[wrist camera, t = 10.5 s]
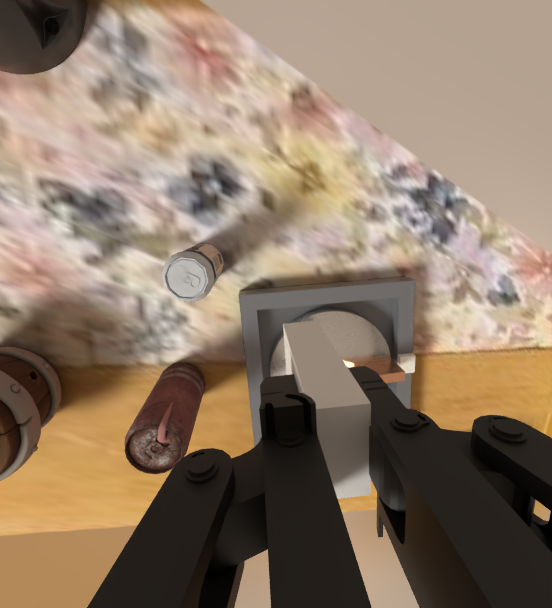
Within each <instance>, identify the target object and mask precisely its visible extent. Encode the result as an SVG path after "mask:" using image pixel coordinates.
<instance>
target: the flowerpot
mask: <svg viewBox="0 0 552 608" xmlns="http://www.w3.org/2000/svg"><path fill="white" fill-rule="evenodd" d="M60 401H61V385H60V381H59V379H58V374H57V372H56V370H55V369H54V367H53V366H52V365H51V364H50V363H49V362H48V361H47V360H46V359H44V358H43V357H41V356H40V355H38V354H34V353H32V352H29V351H27V350H24V349H20V348H15V347H2V346H0V481H2V480H3V479H5V478H7V477H8V476H10V475H11V474H13V473H14V472H15V471H17V470H18V469H19V468H20V467H21V466H22V465H23V464H24V463H25V462H26V461H27V460H28V459H29V458H30V456H31V455H32V454H33V452H35V451H36V450H37V449H38V447H37V444H38V441H39V438H40V434H41V428H42V427H44V426H45V425H46V424H47V423H48V422H49V421H50V420H51V419H52V418H53V416H54V415H55V413H56V411H58V410H59V409H60V405H59V404H60Z"/></svg>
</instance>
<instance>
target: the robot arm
mask: <svg viewBox="0 0 552 608" xmlns="http://www.w3.org/2000/svg"><path fill="white" fill-rule="evenodd" d="M85 17H86V0H0V70H1V71H5V72H9V73H14V74H35V73H40V72H43V71H46V70H49V69H51V68H53V67H55V66H56V65H58V64H59V63H61V62H62V61H63V60H64V59H65V58H66V57H67V56H68V55H69V54H70V53H71V52H72V50H73V49H74V47H75V46H76V44H77V42H78V41H79V38H80V36H81V33H82V30H83V27H84V23H85ZM283 331H284V345H285V359H286V374H287V375H281V376H271V377H265V379H264V380H263V381H262V383H261V384H260V395H261V404H260V408H259V414H260V424H261V434H262V437H261V439H260V441H259V443H258V444H257V445H256V446H255V447H254V448H253V449H251V450H250V451H248V452H247V453H244V454H242V455H240V456H237V457H235V458H232V459H231V457H230V455H228V454H227V453H225V452H224V451H223V450H218V449H214V448H211V449H201V450H198V451H195V452H192V453H190V454H188V455H187V456H185V457H184V458H182V459H181V460H180V461H179V462H178V463H177V464H176V465H175V467H174V468H173V469H172V471H171V472H170V474H169V476H168V477H167V479H166V481H165V482H164V484H163V485H162V487H161V489H160V490H159V492H158V494H157V495H156V497H155V498H154V500H153V502H152V503H151V505H150V506H149V508H148V510H147V511H146V513H145V515H144V516H143V518H142V519H141V521H140V523H139V524H138V526H137V528H136V529H135V531H134V532H133V534H132V536H131V537H130V539H129V541H128V543H127V544H126V545H125V547H124V549H123V550H122V552H121V554H120V555H119V557H118V559H117V560H116V562H115V563H114V565H113V567H112V568H111V570H110V571H109V573H108V575H107V577H106V578H105V580H104V581H103V583H102V584H101V586H100V588H99V589H98V591H97V592H96V594H95V596H94V597H93V599H92V601H91V602H90V604H89V605H88V607H87V608H234V606H235V602H236V597H237V594H238V590H239V585H240V581H241V577H242V573H243V569H244V561H245V560H247V559H249V558H251V557H253V556H255V555H257V554H259V553H261V552H263V551H265V550H267V549H268V557H269V576H270V594H271V608H371V604H370V601H369V598H368V595H367V592H366V588H365V585H364V582H363V579H362V576H361V573H360V570H359V566H358V563H357V560H356V556H355V553H354V550H353V547H352V544H351V541H350V538H349V534H348V531H347V528H346V525H345V522H344V518H343V515H342V512H341V509H340V505H339V502H338V499H341V498H349V497H357V496H365V495H370V481H371V479H372V482H373V484H374V486H375V488H376V490H377V532H378V537H383V524H384V526H385V529H386V531H387V533H388V536H389V538H390V540H391V542H392V545H393V547H394V549H395V552H396V554H397V556H398V559H399V561H400V563H401V565H402V568H403V570H404V573H405V575H406V577H407V580H408V582H409V584H410V586H411V589H412V591H413V594H414V596H415V598H416V600H417V603H418V605H419V607H420V608H552V438H550V437H549V436H547V435H545V434H543V433H541V432H540V431H538V430H536V429H534V428H532V427H531V426H529V425H527V424H525V423H522V422H520V421H518V420H515V419H512V418H508V417H505V416H499V415H498V416H497V415H487V416H480V417H479V418H477V419H475V420H474V423H473V426H472V432H463V431H453V430H445V429H440V428H439V427H438V425H437V424H436V423H435V422H434V421H433V420H432V419H431V418H429V417H428V416H427V415H425V414H423V413H421V412H419V411H416V410H412V409H408V408H406V407H405V406H404V405H403V404H402V402H401V401H400V400H399V399H398V397H397V396H396V395H395V394H394V393H393V391H392V390H391V389H390V388H389V386H388V385H387V384H386V383H385V382H383V379H382V378H381V377H380V376H379V374H378V373H377V372H376V371H374V370H372V369H370V368H368V367H367V366H358V367H349V368H348V367H347V366H346V364H345V363H344V361H343V360H342V358H341V357H340V355H339V354H338V352H337V351H336V349H335V347H334V346H333V344H332V343H331V341H330V340H329V338H328V337H327V335H326V334H325V332H324V331H323V329H322V328H321V326H320V324H319V323H318V321H306V322H296V323H285V324H283ZM535 500H537V501H538V502H540V503H541V504H543V505H544V506H545V507H546V508H548V509H549V510H550V511H551V514H550V519H549V521H544V520H542V519H541V518H539V517H538V516H536V515H535V514H534V513H533V512H534V506H535Z"/></svg>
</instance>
